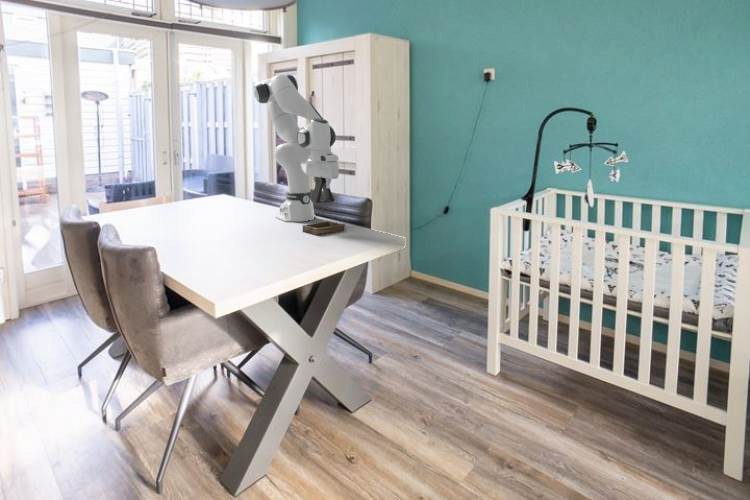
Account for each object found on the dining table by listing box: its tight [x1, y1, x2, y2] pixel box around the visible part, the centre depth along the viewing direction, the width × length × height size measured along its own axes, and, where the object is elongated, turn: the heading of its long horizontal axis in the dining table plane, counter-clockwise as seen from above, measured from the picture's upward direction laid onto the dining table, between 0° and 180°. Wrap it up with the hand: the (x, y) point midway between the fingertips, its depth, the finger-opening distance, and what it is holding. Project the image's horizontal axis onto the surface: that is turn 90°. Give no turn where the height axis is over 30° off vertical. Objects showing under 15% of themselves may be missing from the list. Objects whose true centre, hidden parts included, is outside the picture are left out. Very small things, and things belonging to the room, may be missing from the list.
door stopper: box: [311, 177, 335, 204], centre depth 237 cm, size 9×6×12 cm, turn 117°
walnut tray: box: [302, 220, 346, 237], centre depth 241 cm, size 12×15×3 cm
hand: (322, 187), depth 237 cm, fingers closed on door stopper, 6 cm apart
